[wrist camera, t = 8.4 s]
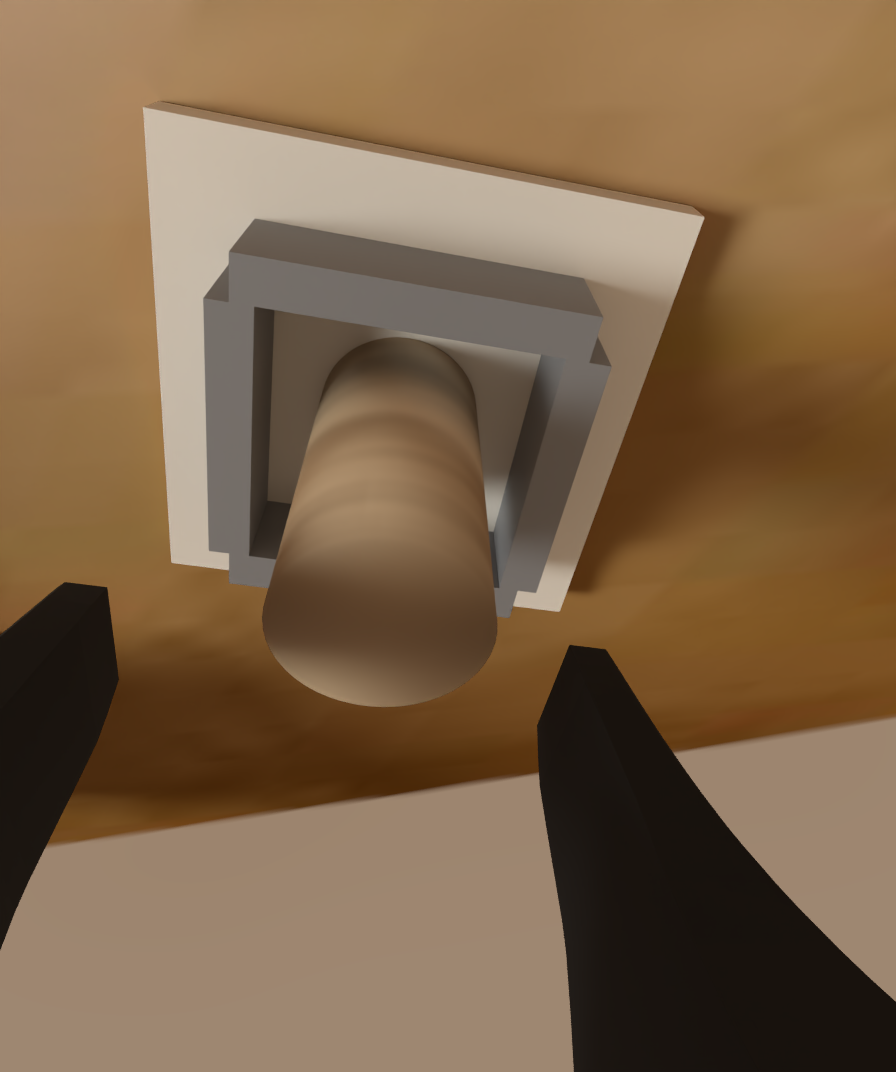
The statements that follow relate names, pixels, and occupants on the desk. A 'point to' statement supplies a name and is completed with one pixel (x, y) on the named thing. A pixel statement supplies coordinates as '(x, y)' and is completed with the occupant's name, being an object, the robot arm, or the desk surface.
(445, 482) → the rail end peg
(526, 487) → the cup bracket
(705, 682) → the desk surface
